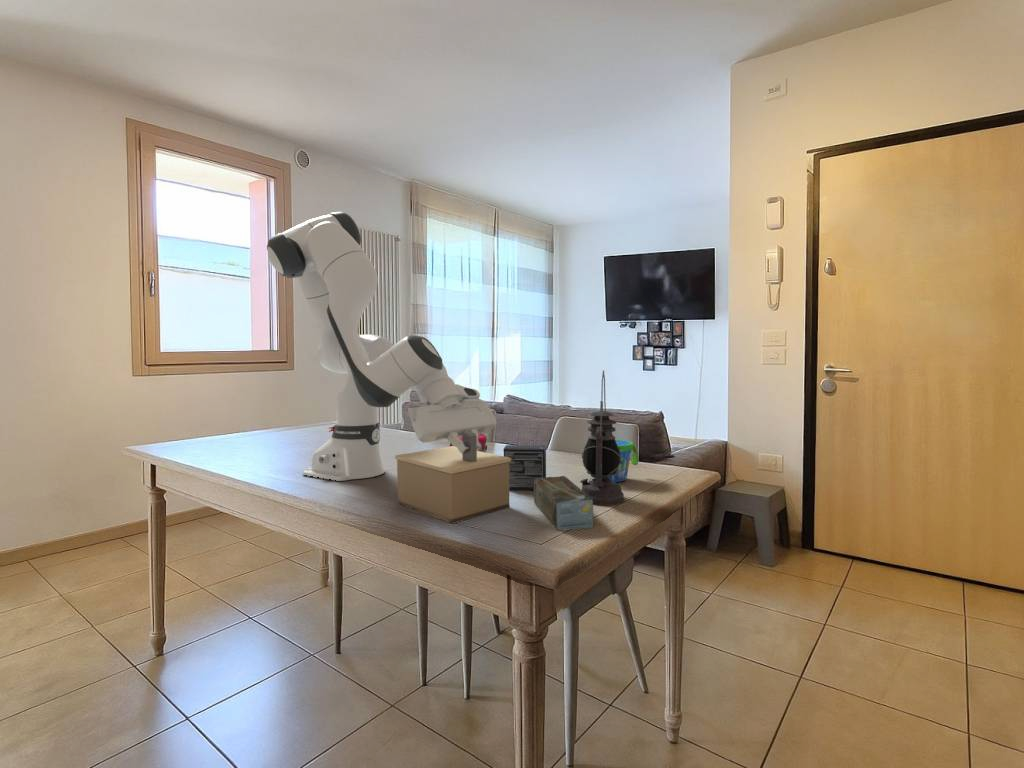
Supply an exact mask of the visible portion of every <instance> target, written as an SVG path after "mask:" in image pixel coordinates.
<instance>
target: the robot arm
mask: <svg viewBox="0 0 1024 768" xmlns="http://www.w3.org/2000/svg"><path fill="white" fill-rule="evenodd" d="M361 236H362V235H361V234H360V230H359V227H358V226H357V223H356V221H355V220H354V219H353V218H352V216H351V215H349V214H348V213H346V212H344V211H336V212H335V211H334V212H330V213H328V214H327V215H321V216H319V217H315V218H314V217H313V218H310V219H308V220H306V221H304V222H303V223H300V224H298V225H296V226H294V227H293V226H292V227H291V228H289V229H287V230H285V231H283V232H279V233H277V234H275V235H273V236H272V237H271V238H269V239H268V241H267V245H266V249H267V255H268V260H269V262H270V263H271V265H272V267H273V268H274V269H275V270H276V271H277V273H279V274H280V276H282V277H284V278H287V279H294V278H296V279H298V282H299V286H300V287H301V290H302V292H303V295H304V297H305V299H306V301H307V303H308V306H309V307H310V310H311V311H312V314H313V317H314V318H315V321H316V323H317V326H318V329H319V335H320V336H319V337H320V343H319V346H318V349H317V359H318V362H319V364H320V366H321V367H323V369H325V370H328V371H330V372H333V373H334V374H335V373H336V374H338V375H339V374H342V375H345V374H346V381H345V385H344V387H343V388H342V389H341V391H340V392H339V393H338V394H337V396H336V404H335V405H336V424H335V425H334V426H330V427H328V429H329V430H328V432H329V433H331V432H332V433H331V438H329V439H328V440H327V441H326V442H324V443H323V444H322V445H320V447H318V448H317V449H316V450H315V451H314V452H313V454H312V457H311V465H310V467H308V468H306V469H304V470H303V472H302V476H304V475H307V476H306V477H310V476H313V477H312V478H317V477H319V478H318V479H323V478H324V480H329V479H331V480H330V481H335V480H336V481H337V482H343V481H349V480H350V481H351V480H359V479H368V478H374V477H377V476H380V475H382V474H384V473H385V471H386V470H385V468H384V465H383V461H382V460H383V459H382V455H381V449H380V439H381V437H380V436H381V430H380V423H379V422H378V421H379V410H378V408H390V407H391V406H392V405H393V404H394V403H395V402H396V401H397V400H398V399H399V398H401V397H400V396H402V395H403V394H405V393H407V392H408V391H409V390H410V389H414V390H415V392H417V395H418V399H419V402H420V403H412V404H411V403H410V405H409V406H407V408H406V414H407V416H408V417H409V419H410V421H411V424H412V428H413V430H414V433H415V437H416V438H417V440H418V441H420V442H422V443H430V442H437V441H438V442H439V441H442V440H447V441H448V443H449V444H450V443H451V444H452V445H454V446H455V447H457V448H458V450H459V452H460V453H465V452H467V451H468V450H469V446H468V445H467V442H463V441H462V440H460V439H459V438H458V437H462V435H465V434H470V435H475V436H477V450H479V449H480V447H481V444H480V443H479V441H478V434H483V435H485V434H489V433H491V432H492V431H493V429H494V428H495V427H496V425H497V418H496V416H495V415H494V413H493V411H492V410H491V409H490V407H489V405H488V404H487V403H486V402H485V401H484V400H483V399H481V398H480V397H481V393H480V392H479V391H478V389H475V388H471V387H466V386H462V385H461V384H459V383H458V384H456V383H455V381H454V380H453V378H451V377H450V376H449V374H448V369H447V368H446V366H445V364H444V363H443V359H442V358H443V357H441V356H440V355H441V354H440V353H439V352H438V350H437V349H436V347H435V346H434V344H433V343H432V342H431V341H430V340H428V339H427V338H426V337H424V336H419V335H413V334H410V335H407V336H404V337H403V338H402V339H400V340H399V341H398V342H396V343H395V344H393V342H392V341H391V340H389V339H388V338H386V337H384V336H380V335H377V334H370V333H369V334H368V333H367V334H359V331H358V330H359V329H358V328H359V323H360V320H361V318H362V316H363V314H364V312H365V310H366V309H367V307H368V306H369V304H370V303H371V301H372V300H373V298H374V296H375V294H376V291H377V288H378V279H379V277H378V272H377V270H376V268H375V267H374V264H373V263H372V261H371V260H370V258H369V257H368V255H367V254H366V252H365V251H364V249H363V248H362V246H360V245H361V242H362V237H361Z"/></svg>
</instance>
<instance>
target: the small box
mask: <svg viewBox="0 0 1024 768" xmlns="http://www.w3.org/2000/svg"><path fill="white" fill-rule="evenodd" d="M546 447H547V446H546V445H543V444H534V445H533V444H506V445H505V446H504V447H503V456H504V457H509V458H511V462H509V491H534V487H533V480H534V478H547V448H546Z"/></svg>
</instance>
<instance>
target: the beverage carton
mask: <svg viewBox="0 0 1024 768" xmlns="http://www.w3.org/2000/svg"><path fill="white" fill-rule="evenodd" d="M533 487H534V490H533V502H534V504H535V505H536V506H537V508H538V509H539V510H540V512H541V513H542V514H543V515H544V517H545V518H546V519H547V520H548V521H549V523H550V524H551V526H553V527H554V529H556V530H557V531H563V530H564V529H567V530H579V529H580V528H581V529H591V528H593V527H594V505H593V500H592V499H591V498H590V497H588V496H587V495H586V494H585V493H584V492H583V491H582V488H580V487H579V486H577V484H575V483H574V482H573V481H571V480H570V479H569V478H568V477H566V476H565V475H561V476H546V478H534V480H533ZM578 528H579V529H578ZM581 529H580V530H581ZM564 531H565V530H564Z"/></svg>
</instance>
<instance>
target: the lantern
mask: <svg viewBox="0 0 1024 768" xmlns="http://www.w3.org/2000/svg"><path fill="white" fill-rule="evenodd" d="M600 398H601V399H600V402H599V404H600V406H599V409H600V411H592V412H591V413H589V414H588V415H589V416H591V417H594V418H592V419H590V420H587V421H586V423H587V424H590V426H588V427H587V431H588V432H590V434H589V436H587V438H588V439H587V441H586V444H585V446H584V448H583V451H582V454H581V459H582V466H583V468H584V469H585V471H586V474H588V475H590V476H591V478H590V479H588V478H584V479H583V478H582V479H581V480H580V481H579V482H580V483H581V485H582V486H581V490H582V491H583V492H584V493H585V494H586V495H587V496H588V497H590V498H591V499H592V500H593V506H594V505H595V506H616V505H619V504H622V503H624V502H625V497H624V495H625V494H624V492H622V487H621V484H619V483H618V482H611V480H610V479H608V478H611V477H612V476H613V475H615V474H616V471H617V469H618V468H619V466H620V464H621V463H622V460H621V454H620V451H619V448H618V446H617V444H616V441H615V440H616V436H614V434H613V433H614V432H616V427H613V425H616V424H617V421H616V420H613V419H611V418H610V417H613V416H614V415H615V414H614V413H612V412H609V411H607V408H606V407H607V406H606V405H607V404H606V377H605V370H602V375H601V397H600ZM603 398H604V399H603ZM603 400H604V401H603Z"/></svg>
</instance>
